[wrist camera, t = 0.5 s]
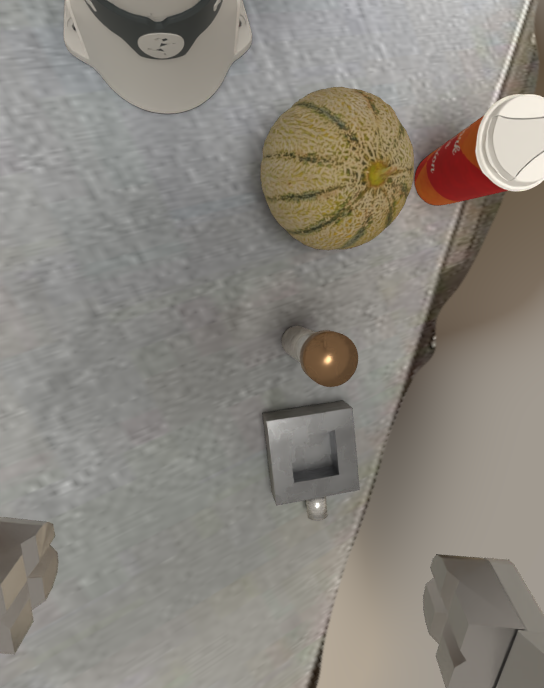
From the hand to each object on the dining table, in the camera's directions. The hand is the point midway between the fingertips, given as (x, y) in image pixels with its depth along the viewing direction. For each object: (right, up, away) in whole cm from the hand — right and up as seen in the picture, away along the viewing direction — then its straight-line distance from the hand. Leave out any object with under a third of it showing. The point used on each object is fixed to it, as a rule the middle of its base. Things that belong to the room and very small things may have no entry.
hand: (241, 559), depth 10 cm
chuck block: (+5, -9, +45) cm, 46 cm away
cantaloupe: (+6, +22, +41) cm, 47 cm away
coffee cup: (+20, +24, +44) cm, 54 cm away
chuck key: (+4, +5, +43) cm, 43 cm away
